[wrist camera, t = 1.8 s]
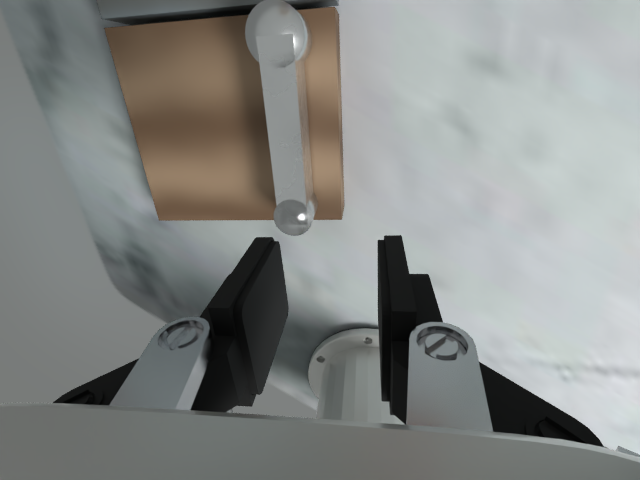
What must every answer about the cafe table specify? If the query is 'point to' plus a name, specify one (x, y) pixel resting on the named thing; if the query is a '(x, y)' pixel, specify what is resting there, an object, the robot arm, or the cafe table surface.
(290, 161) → the swing bar
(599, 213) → the cafe table surface
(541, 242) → the cafe table surface
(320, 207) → the gray and brown slabs
